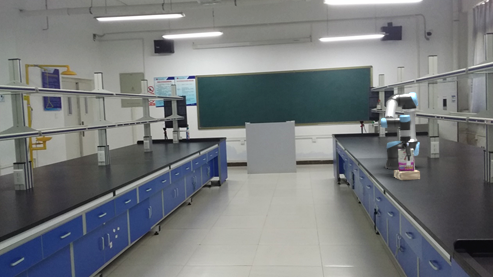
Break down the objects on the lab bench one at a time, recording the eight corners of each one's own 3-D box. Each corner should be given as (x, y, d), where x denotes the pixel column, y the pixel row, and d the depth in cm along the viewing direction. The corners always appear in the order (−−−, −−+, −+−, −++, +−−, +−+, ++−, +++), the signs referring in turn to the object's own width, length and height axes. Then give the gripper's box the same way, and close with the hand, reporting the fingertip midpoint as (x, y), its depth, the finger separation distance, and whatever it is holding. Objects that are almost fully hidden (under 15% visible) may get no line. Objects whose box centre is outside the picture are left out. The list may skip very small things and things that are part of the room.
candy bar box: (414, 170, 314) (414, 148, 313) (414, 171, 310) (413, 149, 308) (399, 170, 319) (398, 148, 318) (398, 171, 314) (397, 149, 313)
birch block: (393, 177, 321) (393, 170, 321) (411, 176, 322) (411, 168, 322) (401, 180, 307) (401, 172, 307) (420, 179, 308) (419, 171, 308)
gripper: (396, 134, 325) (397, 161, 327) (404, 137, 301) (405, 166, 302) (406, 134, 324) (407, 161, 326) (415, 136, 300) (416, 166, 301)
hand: (406, 163), depth 314 cm, fingers open, 13 cm apart
